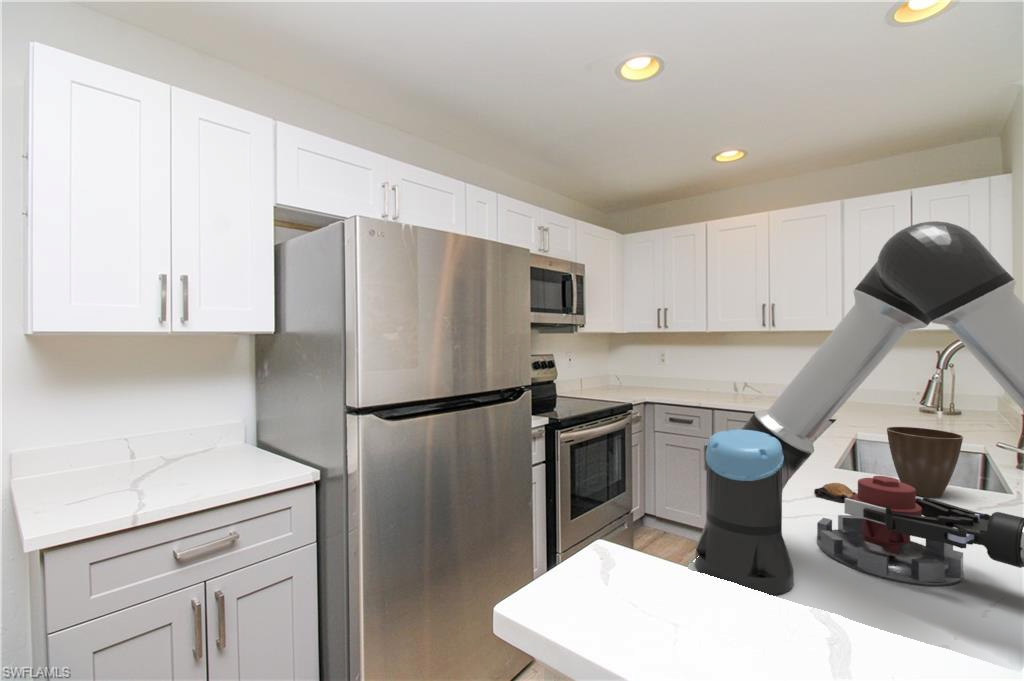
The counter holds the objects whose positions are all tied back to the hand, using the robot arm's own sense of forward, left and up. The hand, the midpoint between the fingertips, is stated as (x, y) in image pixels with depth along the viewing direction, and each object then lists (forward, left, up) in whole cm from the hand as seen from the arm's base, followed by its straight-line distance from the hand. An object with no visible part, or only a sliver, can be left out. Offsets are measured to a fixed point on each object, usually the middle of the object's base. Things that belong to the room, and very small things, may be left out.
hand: (858, 500), depth 90 cm
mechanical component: (+4, -1, -7) cm, 8 cm away
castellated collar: (+4, -1, -9) cm, 10 cm away
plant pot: (+3, +51, -9) cm, 52 cm away
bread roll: (-11, +32, -10) cm, 35 cm away
